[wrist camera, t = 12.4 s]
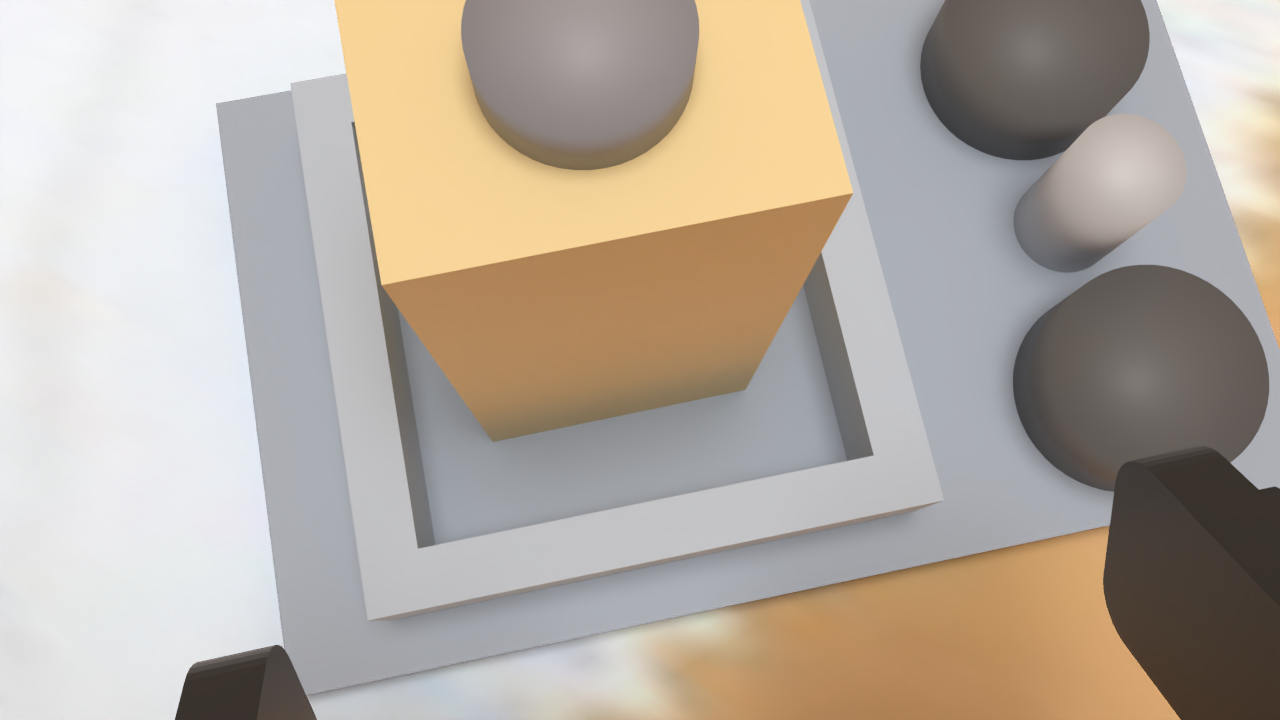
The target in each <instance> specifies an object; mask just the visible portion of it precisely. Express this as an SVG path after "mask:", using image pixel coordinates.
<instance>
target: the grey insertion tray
mask: <svg viewBox="0 0 1280 720" xmlns="http://www.w3.org/2000/svg"><path fill="white" fill-rule="evenodd" d="M800 1H801V5H802V9H803V12H804V16H805V20H806V23H807V27H808V30H809V34H810V38H811V41H812V45H813V49H814V52H815V56H816V59H817V63H818V67H819V70H820V74H821V78H822V81H823V85H824V88H825V92H826V96H827V99H828V103H829V107H830V110H831V114H832V117H833V121H834V125H835V128H836V132H837V136H838V139H839V143H840V146H841V150H842V154H843V157H844V161H845V165H846V168H847V172H848V175H849V179H850V183H851V186H852V190H853V195H852V197H851V198H850V200H849V202H848V204H847V206H846V207H845V209H844V211H843V213H842V215H841V217H840V218H839V220H838V222H837V224H836V226H835V228H834V229H833V231H832V233H831V235H830V237H829V239H828V240H827V242H826V244H825V246H824V248H823V249H822V251H821V253H820V255H819V257H818V259H817V260H816V262H815V264H814V266H813V268H812V270H811V271H810V273H809V275H808V277H807V279H806V280H805V282H804V284H803V286H802V288H801V290H800V291H799V293H798V295H797V297H796V299H795V301H794V302H793V304H792V306H791V308H790V310H789V312H788V313H787V315H786V317H785V319H784V321H783V322H782V324H781V326H780V328H779V330H778V332H777V333H776V335H775V337H774V339H773V341H772V343H771V344H770V346H769V348H768V350H767V352H766V354H765V355H764V357H763V359H762V361H761V363H760V364H759V366H758V368H757V370H756V372H755V374H754V375H753V377H752V379H751V381H750V383H749V385H748V386H747V388H746V390H743V391H738V392H733V393H728V394H723V395H718V396H714V397H709V398H704V399H699V400H694V401H689V402H684V403H680V404H675V405H670V406H665V407H660V408H655V409H651V410H646V411H641V412H636V413H631V414H626V415H621V416H617V417H612V418H607V419H602V420H597V421H592V422H587V423H583V424H578V425H573V426H568V427H563V428H558V429H553V430H549V431H544V432H539V433H534V434H529V435H524V436H520V437H515V438H510V439H505V440H500V441H495V442H493V441H492V440H491V439H490V437H489V436H488V434H487V433H486V432H485V430H484V429H483V427H482V426H481V425H480V423H479V422H478V420H477V419H476V418H475V416H474V415H473V413H472V412H471V410H470V409H469V408H468V406H467V405H466V403H465V402H464V401H463V399H462V398H461V396H460V395H459V394H458V392H457V391H456V389H455V388H454V387H453V385H452V384H451V382H450V381H449V379H448V378H447V377H446V375H445V374H444V372H443V371H442V370H441V368H440V367H439V365H438V364H437V363H436V361H435V360H434V358H433V357H432V356H431V354H430V353H429V351H428V350H427V348H426V347H425V346H424V344H423V343H422V341H421V340H420V339H419V337H418V336H417V334H416V333H415V332H414V330H413V329H412V327H411V326H410V325H409V323H408V322H407V320H406V319H405V318H404V316H403V315H402V313H401V312H400V310H399V309H398V308H397V306H396V305H395V303H394V302H393V301H392V299H391V298H390V296H389V295H388V294H387V292H386V291H385V289H384V288H383V287H382V285H381V279H380V273H379V267H378V261H377V255H376V249H375V243H374V237H373V231H372V224H371V218H370V212H369V206H368V200H367V194H366V188H365V182H364V176H363V170H362V164H361V158H360V152H359V146H358V140H357V134H356V128H355V121H354V115H353V109H352V103H351V97H350V91H349V85H348V79H347V74H341V75H335V76H330V77H324V78H318V79H313V80H307V81H301V82H295V83H291V90H292V91H286V92H280V93H274V94H269V95H263V96H257V97H252V98H246V99H240V100H235V101H229V102H223V103H217V104H216V107H217V115H218V123H219V131H220V139H221V147H222V155H223V163H224V171H225V179H226V187H227V195H228V202H229V210H230V218H231V226H232V234H233V242H234V250H235V258H236V266H237V274H238V282H239V290H240V298H241V306H242V314H243V322H244V330H245V338H246V346H247V354H248V362H249V370H250V378H251V386H252V394H253V402H254V410H255V418H256V426H257V434H258V442H259V450H260V458H261V465H262V473H263V481H264V489H265V497H266V505H267V513H268V521H269V529H270V537H271V545H272V553H273V561H274V569H275V577H276V585H277V593H278V601H279V609H280V617H281V625H282V633H283V641H284V649H285V651H286V652H287V654H288V656H289V658H290V660H291V662H292V664H293V666H294V669H295V671H296V673H297V676H298V678H299V680H300V682H301V685H302V687H303V689H304V691H305V694H306V695H311V694H316V693H321V692H325V691H330V690H335V689H340V688H344V687H349V686H354V685H358V684H363V683H368V682H373V681H377V680H382V679H387V678H391V677H396V676H401V675H406V674H410V673H415V672H420V671H424V670H429V669H434V668H439V667H443V666H448V665H453V664H457V663H462V662H467V661H472V660H476V659H481V658H486V657H491V656H495V655H500V654H505V653H509V652H514V651H519V650H524V649H528V648H533V647H538V646H542V645H547V644H552V643H557V642H561V641H566V640H571V639H575V638H580V637H585V636H590V635H594V634H599V633H604V632H608V631H613V630H618V629H623V628H627V627H632V626H637V625H642V624H646V623H651V622H656V621H660V620H665V619H670V618H675V617H679V616H684V615H689V614H693V613H698V612H703V611H708V610H712V609H717V608H722V607H726V606H731V605H736V604H741V603H745V602H750V601H755V600H759V599H764V598H769V597H774V596H778V595H783V594H788V593H793V592H797V591H802V590H807V589H811V588H816V587H821V586H826V585H830V584H835V583H840V582H844V581H849V580H854V579H859V578H863V577H868V576H873V575H877V574H882V573H887V572H892V571H896V570H901V569H906V568H910V567H915V566H920V565H925V564H929V563H934V562H939V561H944V560H948V559H953V558H958V557H962V556H967V555H972V554H977V553H981V552H986V551H991V550H995V549H1000V548H1005V547H1010V546H1014V545H1019V544H1024V543H1028V542H1033V541H1038V540H1043V539H1047V538H1052V537H1057V536H1061V535H1066V534H1071V533H1076V532H1080V531H1085V530H1090V529H1095V528H1099V527H1104V526H1109V525H1110V521H1111V513H1112V505H1113V497H1114V489H1115V482H1116V477H1117V473H1118V471H1119V469H1120V468H1121V466H1122V465H1123V464H1124V463H1126V462H1129V461H1133V460H1138V459H1143V458H1147V457H1152V456H1156V455H1161V454H1165V453H1170V452H1175V451H1179V450H1184V449H1188V448H1193V447H1197V446H1206V447H1210V448H1212V449H1214V450H1216V451H1217V452H1219V453H1220V454H1221V455H1222V456H1223V457H1225V458H1226V459H1227V460H1228V461H1229V462H1230V463H1231V464H1232V465H1233V466H1234V467H1235V468H1236V469H1237V470H1238V471H1239V472H1241V473H1242V474H1243V475H1244V476H1245V477H1246V478H1247V479H1248V480H1249V481H1250V482H1251V483H1252V484H1253V485H1254V486H1255V487H1257V488H1258V489H1259V490H1260V489H1265V488H1269V487H1274V486H1276V487H1278V488H1280V350H1279V347H1278V344H1277V341H1276V339H1275V336H1274V333H1273V330H1272V327H1271V324H1270V322H1269V319H1268V316H1267V313H1266V310H1265V307H1264V305H1263V302H1262V299H1261V296H1260V293H1259V290H1258V288H1257V285H1256V282H1255V279H1254V276H1253V273H1252V270H1251V268H1250V265H1249V262H1248V259H1247V256H1246V253H1245V251H1244V248H1243V245H1242V242H1241V239H1240V236H1239V234H1238V231H1237V228H1236V225H1235V222H1234V219H1233V217H1232V214H1231V211H1230V208H1229V205H1228V202H1227V200H1226V197H1225V194H1224V191H1223V188H1222V185H1221V183H1220V180H1219V177H1218V174H1217V171H1216V168H1215V165H1214V163H1213V160H1212V157H1211V154H1210V151H1209V148H1208V146H1207V143H1206V140H1205V137H1204V134H1203V131H1202V129H1201V126H1200V123H1199V120H1198V117H1197V114H1196V112H1195V109H1194V106H1193V103H1192V100H1191V97H1190V95H1189V92H1188V89H1187V86H1186V83H1185V80H1184V78H1183V75H1182V72H1181V69H1180V66H1179V63H1178V60H1177V58H1176V55H1175V52H1174V49H1173V46H1172V43H1171V41H1170V38H1169V35H1168V32H1167V29H1166V26H1165V24H1164V21H1163V18H1162V15H1161V12H1160V9H1159V7H1158V4H1157V1H1156V0H800Z"/></svg>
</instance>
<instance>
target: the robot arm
mask: <svg viewBox="0 0 1280 720" xmlns="http://www.w3.org/2000/svg"><path fill="white" fill-rule="evenodd" d="M1103 585H1104V594H1105V600H1106V604H1107V608H1108V611H1109V614H1110V617H1111V619H1112V622H1113V624H1114V626H1115V628H1116V631H1117V632H1118V634H1119V636H1120V638H1121V639H1122V641H1123V642H1124V644H1125V645H1126V647H1127V648H1128V649H1129V651H1130V652H1131V653H1132V655H1133V656H1134V657H1135V659H1136V660H1137V661H1138V663H1139V664H1140V665H1141V667H1142V668H1143V669H1144V671H1145V672H1146V673H1147V675H1148V676H1149V677H1150V679H1151V680H1152V681H1153V683H1154V684H1155V685H1156V687H1157V688H1158V689H1159V691H1160V692H1161V693H1162V695H1163V696H1164V698H1165V699H1166V700H1167V702H1168V703H1169V704H1170V706H1171V707H1172V708H1173V710H1174V711H1175V712H1176V714H1177V715H1178V716H1179V718H1180V719H1181V720H1280V488H1278V487H1276V486H1274V487H1269V488H1265V489H1260V490H1259V489H1258V488H1257V487H1255V486H1254V485H1253V484H1252V483H1251V482H1250V481H1249V480H1248V479H1247V478H1246V477H1245V476H1244V475H1243V474H1242V473H1241V472H1239V471H1238V470H1237V469H1236V468H1235V467H1234V466H1233V465H1232V464H1231V463H1230V462H1229V461H1228V460H1227V459H1226V458H1225V457H1223V456H1222V455H1221V454H1220V453H1219V452H1217V451H1216V450H1214V449H1212V448H1210V447H1206V446H1197V447H1193V448H1188V449H1184V450H1179V451H1175V452H1170V453H1165V454H1161V455H1156V456H1152V457H1147V458H1143V459H1138V460H1133V461H1129V462H1126V463H1124V464H1123V465H1122V466H1121V468H1120V469H1119V471H1118V473H1117V477H1116V482H1115V489H1114V497H1113V505H1112V513H1111V521H1110V529H1109V537H1108V545H1107V552H1106V560H1105V568H1104V578H1103ZM175 720H317V719H316V716H315V714H314V712H313V710H312V707H311V705H310V703H309V701H308V698H307V696H306V694H305V691H304V689H303V687H302V685H301V682H300V680H299V678H298V676H297V673H296V671H295V669H294V666H293V664H292V662H291V660H290V658H289V656H288V654H287V652H286V651H285V650H284V649H283V648H282V647H281V646H279V645H274V646H270V647H265V648H261V649H256V650H252V651H247V652H242V653H238V654H233V655H229V656H224V657H220V658H215V659H210V660H206V661H201V662H197V663H195V664H193V665H192V667H191V668H190V669H189V671H188V673H187V676H186V679H185V682H184V686H183V690H182V694H181V698H180V702H179V706H178V710H177V714H176V718H175Z"/></svg>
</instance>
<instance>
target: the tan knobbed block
mask: <svg viewBox="0 0 1280 720" xmlns="http://www.w3.org/2000/svg"><path fill="white" fill-rule="evenodd" d="M335 6H336V12H337V18H338V25H339V31H340V37H341V43H342V49H343V55H344V61H345V67H346V73H347V79H348V85H349V91H350V97H351V103H352V109H353V115H354V121H355V128H356V134H357V140H358V146H359V152H360V158H361V164H362V170H363V176H364V182H365V188H366V194H367V200H368V206H369V212H370V218H371V224H372V231H373V237H374V243H375V249H376V255H377V261H378V267H379V273H380V279H381V285H382V287H383V288H384V289H385V291H386V292H387V294H388V295H389V296H390V298H391V299H392V301H393V302H394V303H395V305H396V306H397V308H398V309H399V310H400V312H401V313H402V315H403V316H404V318H405V319H406V320H407V322H408V323H409V325H410V326H411V327H412V329H413V330H414V332H415V333H416V334H417V336H418V337H419V339H420V340H421V341H422V343H423V344H424V346H425V347H426V348H427V350H428V351H429V353H430V354H431V356H432V357H433V358H434V360H435V361H436V363H437V364H438V365H439V367H440V368H441V370H442V371H443V372H444V374H445V375H446V377H447V378H448V379H449V381H450V382H451V384H452V385H453V387H454V388H455V389H456V391H457V392H458V394H459V395H460V396H461V398H462V399H463V401H464V402H465V403H466V405H467V406H468V408H469V409H470V410H471V412H472V413H473V415H474V416H475V418H476V419H477V420H478V422H479V423H480V425H481V426H482V427H483V429H484V430H485V432H486V433H487V434H488V436H489V437H490V439H491V440H492V441H493V442H495V441H500V440H505V439H510V438H515V437H520V436H524V435H529V434H534V433H539V432H544V431H549V430H553V429H558V428H563V427H568V426H573V425H578V424H583V423H587V422H592V421H597V420H602V419H607V418H612V417H617V416H621V415H626V414H631V413H636V412H641V411H646V410H651V409H655V408H660V407H665V406H670V405H675V404H680V403H684V402H689V401H694V400H699V399H704V398H709V397H714V396H718V395H723V394H728V393H733V392H738V391H743V390H746V388H747V386H748V385H749V383H750V381H751V379H752V377H753V375H754V374H755V372H756V370H757V368H758V366H759V364H760V363H761V361H762V359H763V357H764V355H765V354H766V352H767V350H768V348H769V346H770V344H771V343H772V341H773V339H774V337H775V335H776V333H777V332H778V330H779V328H780V326H781V324H782V322H783V321H784V319H785V317H786V315H787V313H788V312H789V310H790V308H791V306H792V304H793V302H794V301H795V299H796V297H797V295H798V293H799V291H800V290H801V288H802V286H803V284H804V282H805V280H806V279H807V277H808V275H809V273H810V271H811V270H812V268H813V266H814V264H815V262H816V260H817V259H818V257H819V255H820V253H821V251H822V249H823V248H824V246H825V244H826V242H827V240H828V239H829V237H830V235H831V233H832V231H833V229H834V228H835V226H836V224H837V222H838V220H839V218H840V217H841V215H842V213H843V211H844V209H845V207H846V206H847V204H848V202H849V200H850V198H851V197H852V195H853V190H852V186H851V183H850V179H849V175H848V172H847V168H846V165H845V161H844V157H843V154H842V150H841V146H840V143H839V139H838V136H837V132H836V128H835V125H834V121H833V117H832V114H831V110H830V107H829V103H828V99H827V96H826V92H825V88H824V85H823V81H822V78H821V74H820V70H819V67H818V63H817V59H816V56H815V52H814V49H813V45H812V41H811V38H810V34H809V30H808V27H807V23H806V20H805V16H804V12H803V9H802V5H801V1H800V0H335Z"/></svg>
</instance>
